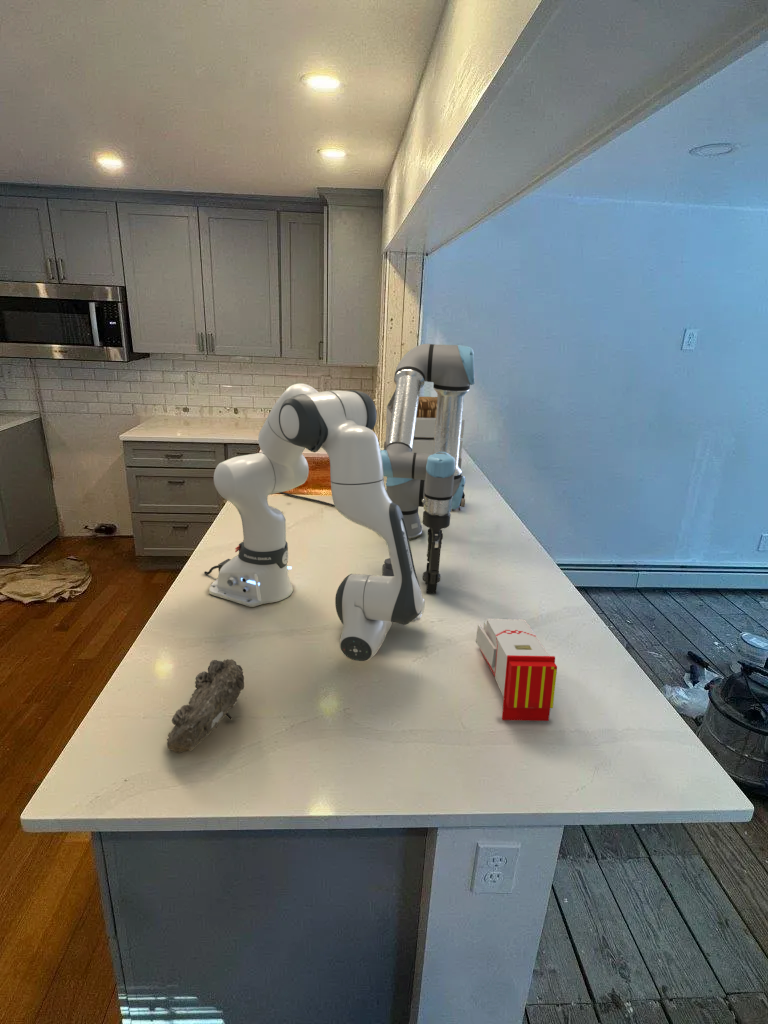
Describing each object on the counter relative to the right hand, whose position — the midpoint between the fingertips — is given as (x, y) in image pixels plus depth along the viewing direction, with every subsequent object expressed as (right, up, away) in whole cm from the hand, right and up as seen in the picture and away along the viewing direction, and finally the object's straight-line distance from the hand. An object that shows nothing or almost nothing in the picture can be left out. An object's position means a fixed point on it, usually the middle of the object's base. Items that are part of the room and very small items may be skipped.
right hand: (430, 588), depth 162 cm
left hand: (-12, +2, -15) cm, 19 cm away
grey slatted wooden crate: (+4, +41, +113) cm, 120 cm away
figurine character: (+15, +24, +68) cm, 74 cm away
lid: (0, +4, -1) cm, 4 cm away
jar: (-12, -5, -14) cm, 19 cm away
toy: (+14, -15, -39) cm, 43 cm away
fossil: (-46, -17, -54) cm, 73 cm away
